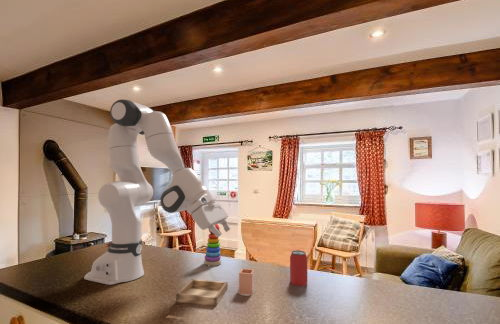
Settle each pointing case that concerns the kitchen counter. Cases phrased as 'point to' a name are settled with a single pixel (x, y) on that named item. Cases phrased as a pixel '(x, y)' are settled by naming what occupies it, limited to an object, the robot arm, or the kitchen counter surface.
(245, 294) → the silver knob
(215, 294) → the tray
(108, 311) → the kitchen counter surface
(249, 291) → the collar
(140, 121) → the robot arm
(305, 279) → the beer can
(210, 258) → the stacking toy
